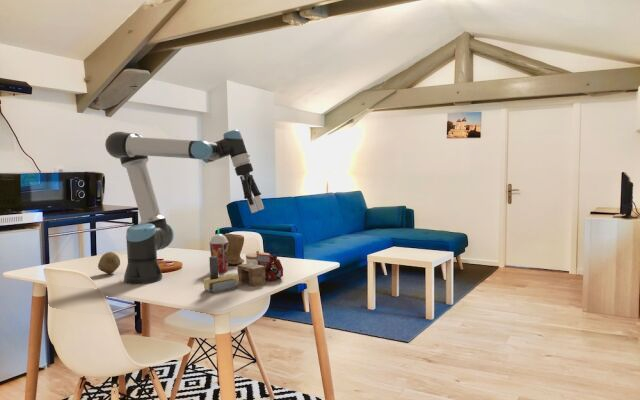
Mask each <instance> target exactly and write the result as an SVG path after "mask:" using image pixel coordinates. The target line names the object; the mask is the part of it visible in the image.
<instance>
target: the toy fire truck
mask: <svg viewBox="0 0 640 400" xmlns="http://www.w3.org/2000/svg"><path fill="white" fill-rule="evenodd" d="M257 261H258V265H261V266H265V280H266V281H268V282H273V281H275V280H276V279H277V280H279V279H281V278H283V277H284V267H283V265H282V262H281V261H280V259H279V258H278V256H277V255H276V254H273V255H271V254H270V255H265V254H258V255H257Z"/></svg>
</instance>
